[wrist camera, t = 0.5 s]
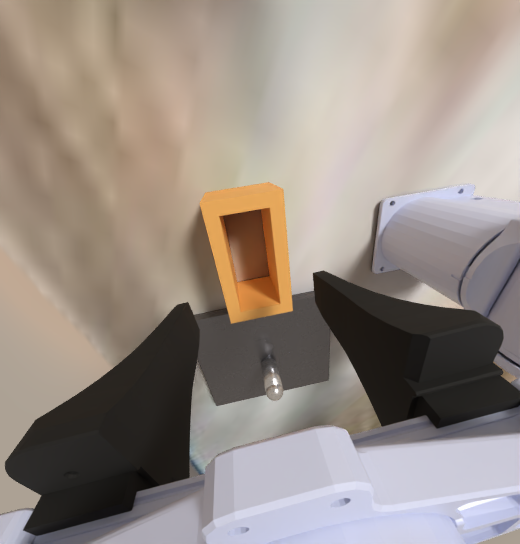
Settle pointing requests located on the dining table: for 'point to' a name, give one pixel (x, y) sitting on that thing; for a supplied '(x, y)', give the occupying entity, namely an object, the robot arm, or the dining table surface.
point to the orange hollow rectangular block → (277, 286)
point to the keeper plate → (264, 351)
